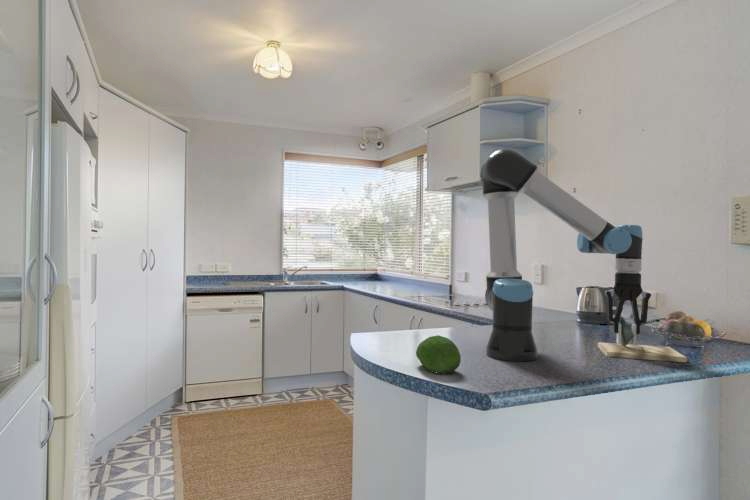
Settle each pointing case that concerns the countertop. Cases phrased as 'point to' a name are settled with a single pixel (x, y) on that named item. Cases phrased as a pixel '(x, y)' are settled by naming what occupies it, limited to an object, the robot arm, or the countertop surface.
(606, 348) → the board
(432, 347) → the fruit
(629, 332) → the stone
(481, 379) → the countertop surface
